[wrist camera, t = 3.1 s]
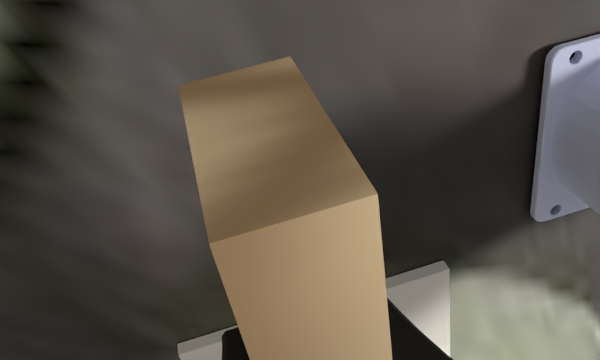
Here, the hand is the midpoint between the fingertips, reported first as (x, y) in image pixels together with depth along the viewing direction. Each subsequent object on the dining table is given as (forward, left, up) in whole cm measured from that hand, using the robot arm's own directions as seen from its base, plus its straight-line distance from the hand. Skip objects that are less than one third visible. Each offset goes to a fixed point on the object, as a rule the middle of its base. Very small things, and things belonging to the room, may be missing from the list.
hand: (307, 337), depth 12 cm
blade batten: (0, +2, -2) cm, 3 cm away
